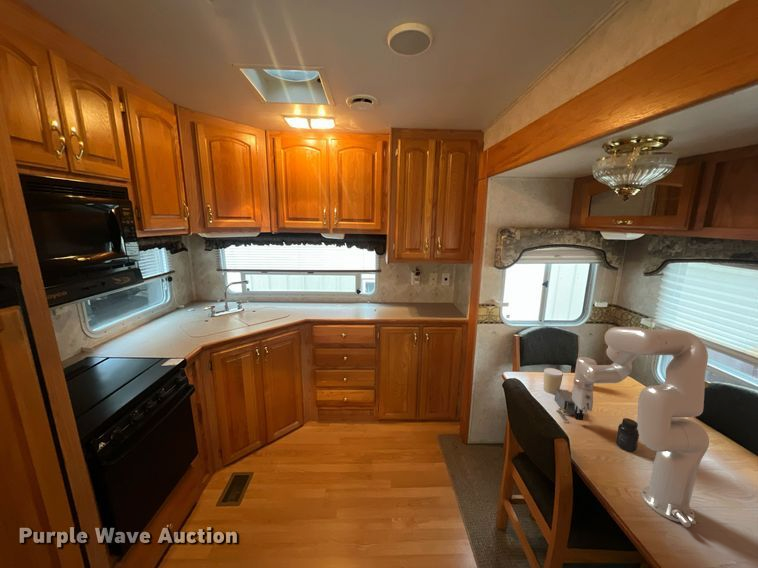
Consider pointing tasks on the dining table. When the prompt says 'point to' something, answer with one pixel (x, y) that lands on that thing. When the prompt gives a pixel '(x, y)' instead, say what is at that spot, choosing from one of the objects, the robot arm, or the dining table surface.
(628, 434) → the supplement bottle
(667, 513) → the robot arm
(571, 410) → the plunger
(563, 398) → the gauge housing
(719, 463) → the dining table surface
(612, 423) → the dining table surface
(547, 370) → the coffee cup
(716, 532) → the dining table surface
